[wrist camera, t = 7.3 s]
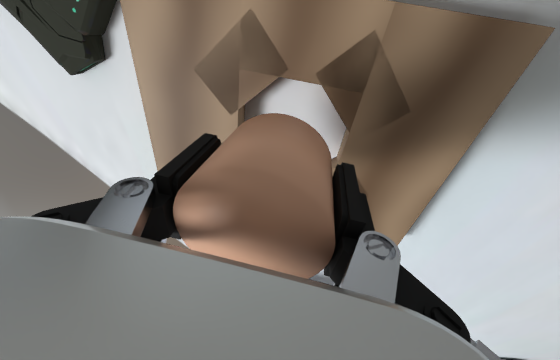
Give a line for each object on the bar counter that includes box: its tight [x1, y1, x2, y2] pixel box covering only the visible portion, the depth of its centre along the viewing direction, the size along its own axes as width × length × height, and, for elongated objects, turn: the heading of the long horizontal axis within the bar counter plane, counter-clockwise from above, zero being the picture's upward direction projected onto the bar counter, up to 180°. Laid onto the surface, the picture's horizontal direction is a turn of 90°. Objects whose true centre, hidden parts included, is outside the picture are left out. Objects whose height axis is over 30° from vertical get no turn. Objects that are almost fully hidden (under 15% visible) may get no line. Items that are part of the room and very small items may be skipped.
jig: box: [120, 0, 555, 246], centre depth 16 cm, size 22×16×2 cm
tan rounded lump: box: [173, 113, 335, 279], centre depth 10 cm, size 6×6×5 cm
